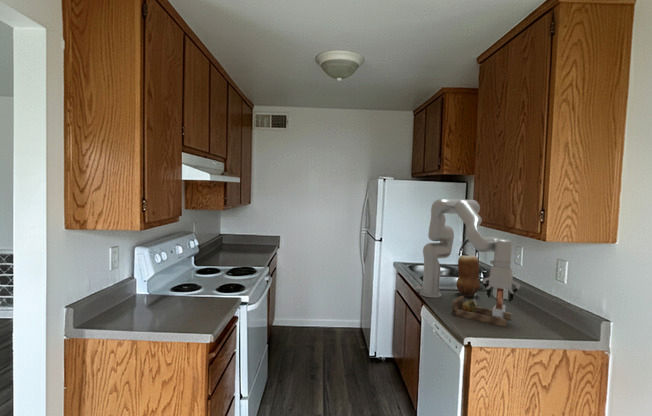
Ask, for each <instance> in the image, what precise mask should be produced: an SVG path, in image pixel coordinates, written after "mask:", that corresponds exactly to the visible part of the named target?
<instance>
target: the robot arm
mask: <svg viewBox="0 0 652 416" xmlns="http://www.w3.org/2000/svg"><path fill="white" fill-rule="evenodd" d="M480 209H481V206H480V204H479V202H478V201H477V200H475V199H458V198H457V199H456V198H439V199H436V200H434V201H433V203H432V205H431V208H430V220H429V221H430V222H429V227H428V233H427V235H428V239H429V240H430V241H432V242H428V243H426V244H425V245H424V246H423V248H422V254H423V256H422V257H423V277H422V278H423V279H422V286H419V285H416V286H415V287H416V290H418V291H419V295H420V296H422V297H426V298H429V299H431V298H432V299H437V298H441V297H442V293H441V292H440V278H441V264H440V261H439V259H446V258H449V257H450V255H452V250H453V246H454V245H453V244H454V238H455V233H454V229H453V228H452V226H450V225H447V224H446V219H447V218H446V215H445V214H451V215H452V214H454V215H455V214H457V215H458V217H459V218H460V220H461V221H462V223H464V225H465V226H466V236H467V239H468V241H469V243H470V244H471V245H472V247H473V248H474V249H475V250H476V251H477V252H480V253H490V252H491V253H493V252H494V253H493V260H490V262H489V263H490V264H492V266H491V267H490V271H489V276H488V277H485V278H482V279H481V281H482V284H483V286H484V287H485V288H486V296H487V298H491V296H492V288H493V287H496V288H502V289H508V292H509V295H508V297H509V298H508V300H509V302H510V303H511V302H512V301H514V297H515V293H516V292H517V291H518V290H520V289H521V288H520V287H521V284H520V283H518V282H516V281H515V280H514V279H513V277H514V276H513V268H512V267H511V266H512V265H511V261H512V251H513V250H512V248H513V246H512V245H513V243H512V240H511V239H507V238H506V239H505V238H500V237H497V236H482V234H481V233H480V232H479V230H478V227H479V226H480V225H481V224H482V222H483V219H482V217H481V215H480V214H479V212H480V211H481V210H480ZM487 281H488V283H487ZM513 285H514V286H515V288H514V289H513Z"/></svg>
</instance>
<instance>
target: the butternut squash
mask: <svg viewBox="0 0 652 416" xmlns="http://www.w3.org/2000/svg"><path fill="white" fill-rule="evenodd" d="M457 269H458V277H457V280H456V289H457V290H458V292H459V293H460V294H461V296H464V297H469V298H471V297H473V296H474V295H476V293H478V291H479V290H480V288H481V284H480V280H479V273H480V263H479V259H478V257H477V256H476V255H461V256H459V257H458V260H457Z"/></svg>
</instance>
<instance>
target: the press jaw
mask: <svg viewBox="0 0 652 416" xmlns="http://www.w3.org/2000/svg"><path fill="white" fill-rule="evenodd" d="M503 293H504V289H502V288H497V296H496V298H495V305H494V306H493V307H492V317H496V318H501V319H504V317H505V312H506V304H504V299H503Z"/></svg>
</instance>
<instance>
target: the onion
mask: <svg viewBox="0 0 652 416" xmlns="http://www.w3.org/2000/svg"><path fill="white" fill-rule="evenodd" d="M475 306H477V307H479V303H477V302H476V301H475V300H472V299H470V300H467V301H464V302H463V304H462V306H461V307H462V310H463V311H468V312H473V313H476V311H477V307H475Z"/></svg>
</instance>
